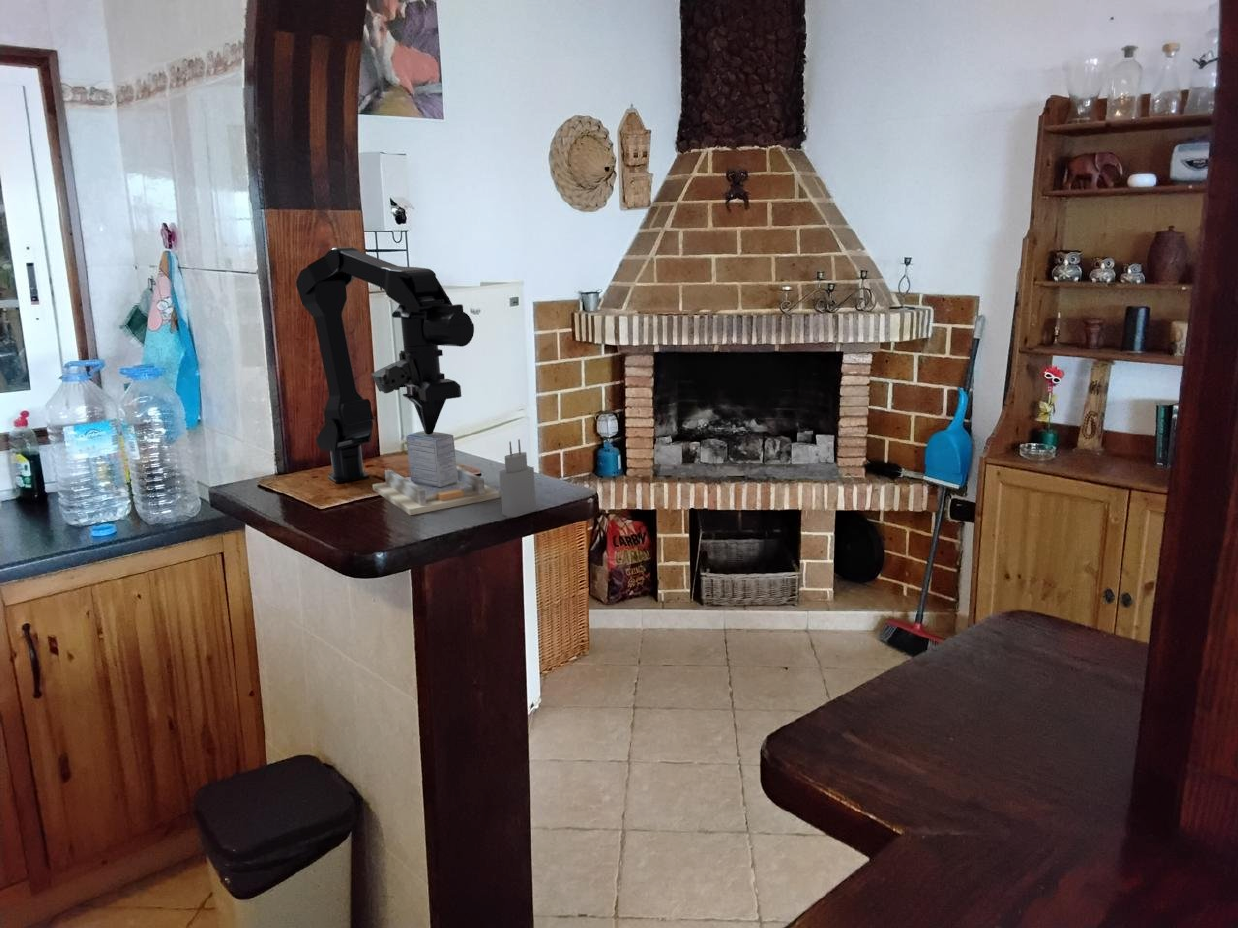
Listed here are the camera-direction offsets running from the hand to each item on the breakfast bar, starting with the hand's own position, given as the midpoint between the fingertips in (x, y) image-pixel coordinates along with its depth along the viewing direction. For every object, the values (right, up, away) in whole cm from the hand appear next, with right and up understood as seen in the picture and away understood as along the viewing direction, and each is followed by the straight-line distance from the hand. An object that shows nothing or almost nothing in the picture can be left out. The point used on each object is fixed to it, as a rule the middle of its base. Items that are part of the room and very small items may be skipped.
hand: (429, 434), depth 161 cm
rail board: (0, -10, +3) cm, 11 cm away
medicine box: (0, -9, +2) cm, 9 cm away
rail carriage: (+1, -10, +2) cm, 10 cm away
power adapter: (+17, -13, -10) cm, 24 cm away
